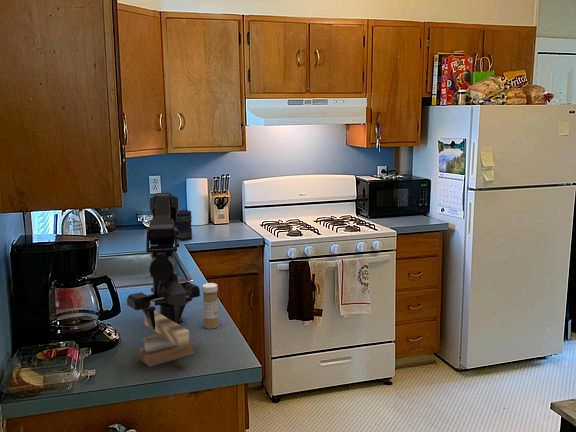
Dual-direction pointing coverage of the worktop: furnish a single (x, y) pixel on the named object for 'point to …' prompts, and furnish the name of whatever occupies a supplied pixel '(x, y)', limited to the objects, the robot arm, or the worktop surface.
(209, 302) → the sprinkles bottle
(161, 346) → the ridge
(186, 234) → the storage jar
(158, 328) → the batten
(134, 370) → the worktop surface
